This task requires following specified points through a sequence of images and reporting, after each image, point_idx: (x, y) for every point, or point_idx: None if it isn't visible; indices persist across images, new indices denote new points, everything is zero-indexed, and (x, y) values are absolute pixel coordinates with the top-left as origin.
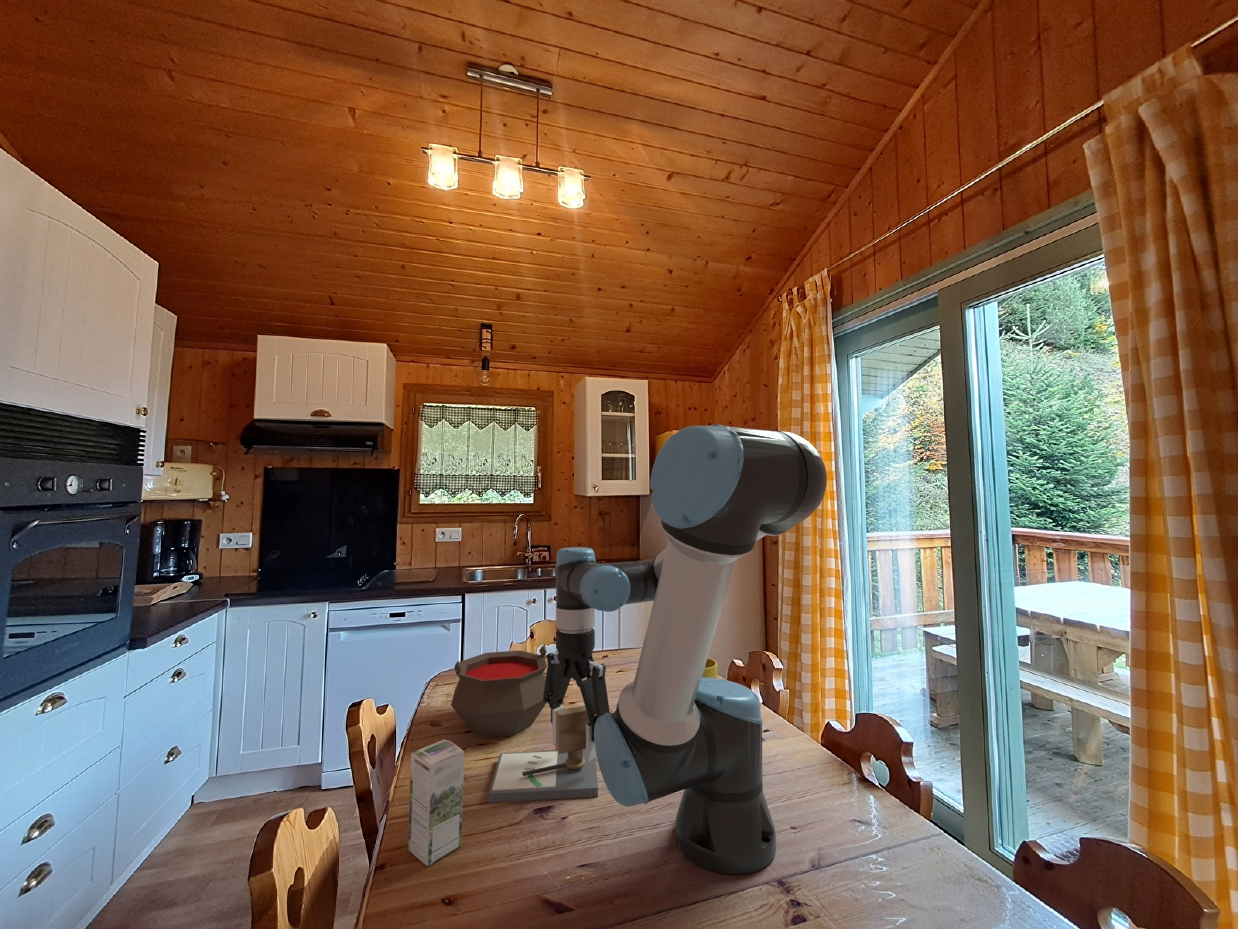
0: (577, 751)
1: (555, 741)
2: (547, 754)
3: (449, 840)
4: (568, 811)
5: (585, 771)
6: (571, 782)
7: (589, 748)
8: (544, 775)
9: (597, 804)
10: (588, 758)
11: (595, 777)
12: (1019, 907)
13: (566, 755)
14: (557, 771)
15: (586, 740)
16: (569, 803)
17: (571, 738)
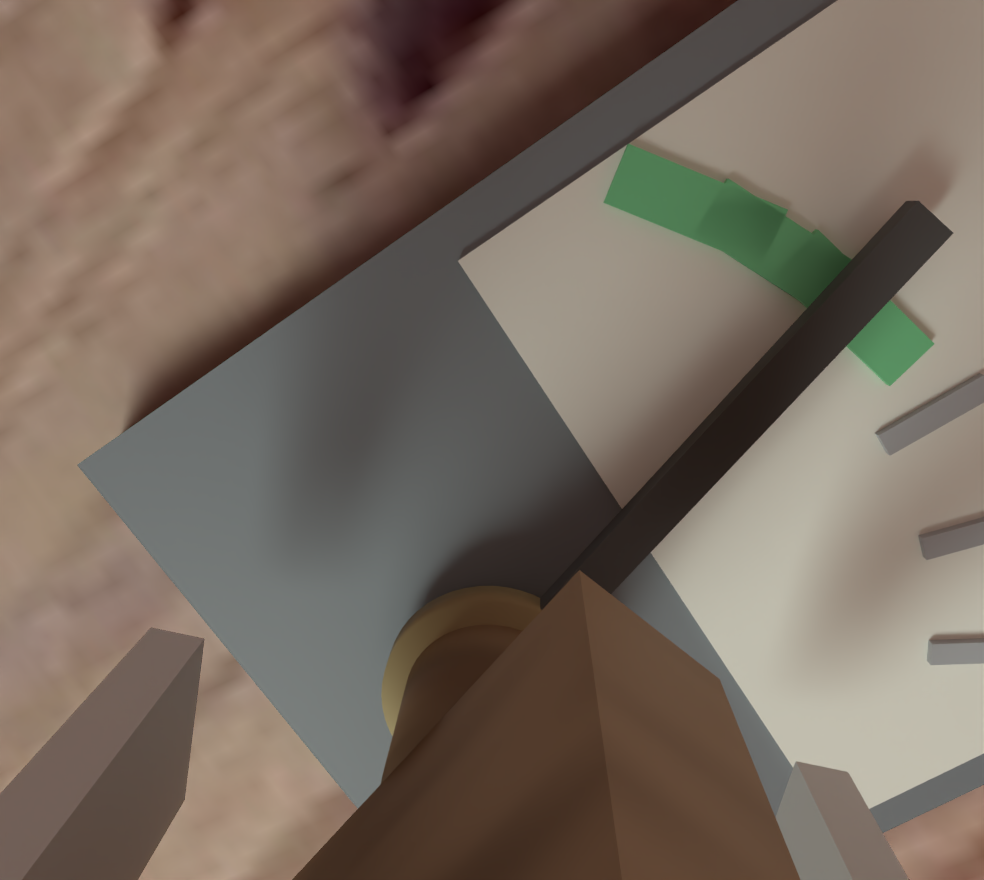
0: (400, 741)
1: (809, 806)
2: (903, 735)
3: None
4: (207, 112)
5: (357, 648)
6: (363, 421)
7: (64, 734)
8: (697, 384)
9: (51, 342)
10: (141, 644)
11: (208, 604)
12: None
13: None
14: None
15: (59, 815)
16: (279, 228)
17: (443, 826)
